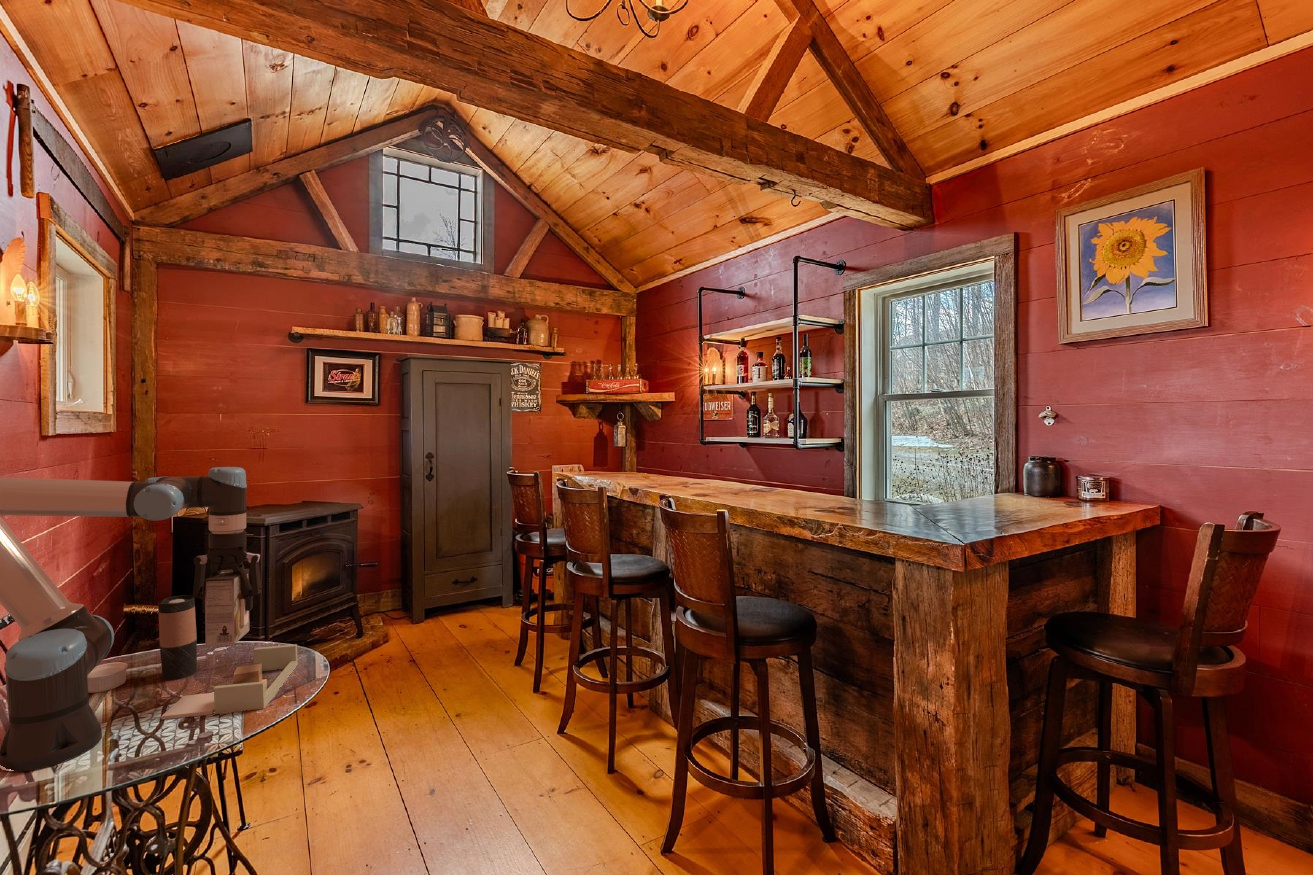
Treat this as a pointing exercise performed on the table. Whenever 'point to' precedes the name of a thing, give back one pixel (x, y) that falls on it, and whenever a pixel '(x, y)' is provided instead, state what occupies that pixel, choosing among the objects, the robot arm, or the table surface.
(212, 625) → the coffee box
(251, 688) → the rack
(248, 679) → the offcut top
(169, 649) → the travel mug
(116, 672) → the round wooden block
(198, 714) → the plate
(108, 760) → the table surface
